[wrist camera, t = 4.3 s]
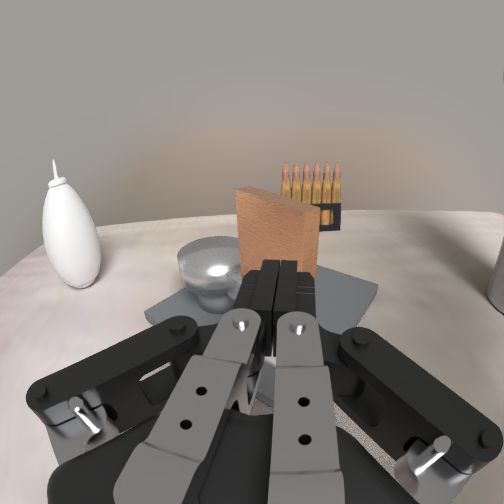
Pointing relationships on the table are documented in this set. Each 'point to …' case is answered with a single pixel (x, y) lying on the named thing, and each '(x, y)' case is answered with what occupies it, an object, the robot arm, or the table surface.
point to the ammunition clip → (316, 193)
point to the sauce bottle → (70, 235)
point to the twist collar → (252, 243)
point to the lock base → (328, 316)
